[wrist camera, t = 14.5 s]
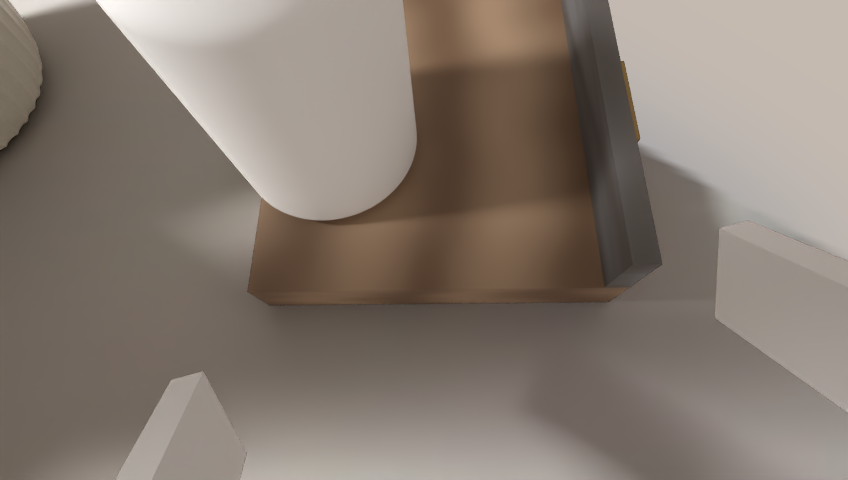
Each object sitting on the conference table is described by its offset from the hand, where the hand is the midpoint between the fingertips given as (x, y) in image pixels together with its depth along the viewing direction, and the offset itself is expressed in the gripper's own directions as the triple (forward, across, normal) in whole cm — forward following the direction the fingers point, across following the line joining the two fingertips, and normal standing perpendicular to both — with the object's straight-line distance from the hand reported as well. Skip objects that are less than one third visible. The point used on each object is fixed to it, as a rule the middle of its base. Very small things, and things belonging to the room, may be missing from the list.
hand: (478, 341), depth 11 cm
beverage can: (+13, -3, +3) cm, 14 cm away
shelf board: (+15, +2, +2) cm, 15 cm away
